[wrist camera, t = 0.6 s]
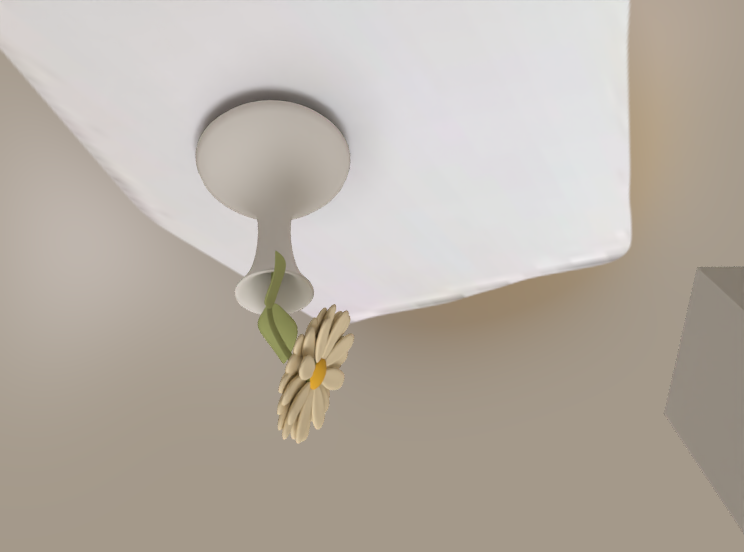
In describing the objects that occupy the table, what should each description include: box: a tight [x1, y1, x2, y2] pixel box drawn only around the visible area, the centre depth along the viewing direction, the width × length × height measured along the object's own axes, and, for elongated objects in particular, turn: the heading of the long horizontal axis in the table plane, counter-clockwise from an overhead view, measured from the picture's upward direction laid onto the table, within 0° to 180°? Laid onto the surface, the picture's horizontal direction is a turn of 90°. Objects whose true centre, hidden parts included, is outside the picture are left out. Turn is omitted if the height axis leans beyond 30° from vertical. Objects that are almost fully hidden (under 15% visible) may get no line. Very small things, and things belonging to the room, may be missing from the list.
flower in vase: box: [196, 100, 354, 443], centre depth 44 cm, size 13×11×25 cm
